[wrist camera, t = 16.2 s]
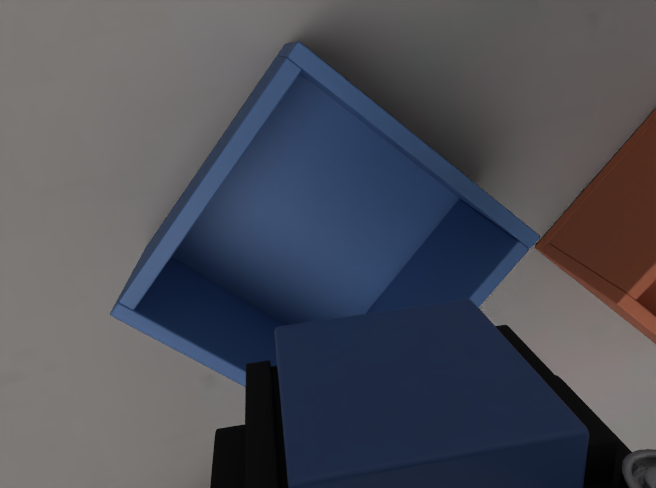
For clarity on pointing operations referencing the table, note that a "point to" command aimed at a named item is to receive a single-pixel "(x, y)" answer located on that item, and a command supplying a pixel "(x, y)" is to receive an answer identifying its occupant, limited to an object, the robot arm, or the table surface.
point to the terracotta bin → (615, 233)
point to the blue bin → (313, 225)
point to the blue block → (420, 405)
